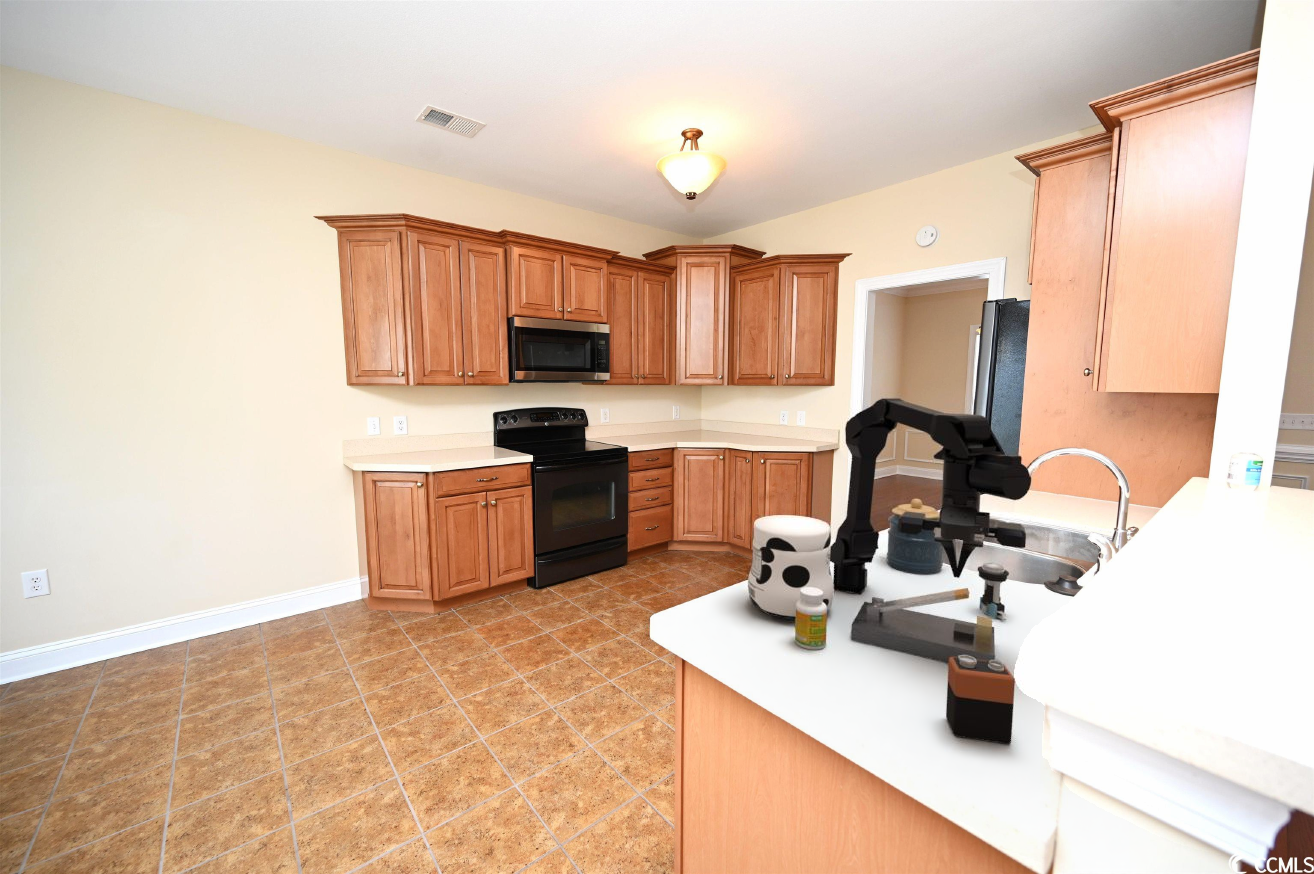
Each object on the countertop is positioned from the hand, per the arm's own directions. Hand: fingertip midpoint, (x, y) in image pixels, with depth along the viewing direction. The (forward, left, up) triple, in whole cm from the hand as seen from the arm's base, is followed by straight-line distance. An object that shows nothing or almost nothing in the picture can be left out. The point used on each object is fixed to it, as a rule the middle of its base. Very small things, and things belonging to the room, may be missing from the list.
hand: (956, 576), depth 92 cm
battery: (+4, -24, -13) cm, 28 cm away
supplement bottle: (-22, -11, -13) cm, 28 cm away
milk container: (-30, +2, -13) cm, 33 cm away
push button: (+6, +20, -13) cm, 25 cm away
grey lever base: (-5, 0, -13) cm, 14 cm away
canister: (-11, +44, -13) cm, 47 cm away
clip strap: (-6, 0, -6) cm, 8 cm away
